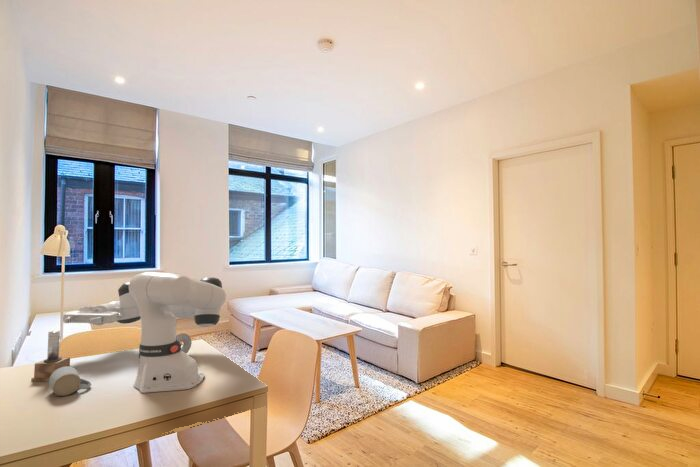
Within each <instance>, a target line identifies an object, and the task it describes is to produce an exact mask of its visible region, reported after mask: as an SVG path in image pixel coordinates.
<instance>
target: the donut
mask: <svg viewBox="0 0 700 467" xmlns="http://www.w3.org/2000/svg"><path fill="white" fill-rule="evenodd" d="M176 340H177V341H178V342H179V343H181V342H183V343H182V344H183V345H182V346H181V351H183V352H184V353H186V354H187V353H188V352H189V351H190V350H191V347H192V338H191V336H190V335H189V334H187V333H179V334H176Z"/></svg>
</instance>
